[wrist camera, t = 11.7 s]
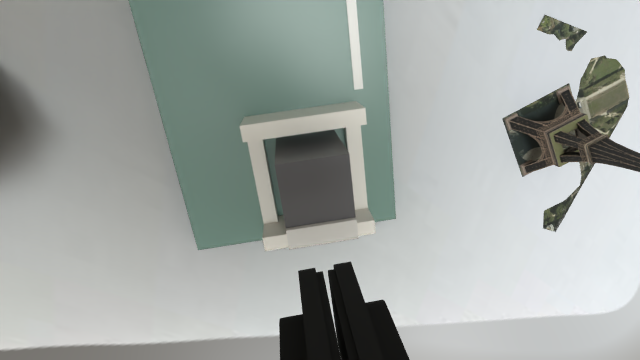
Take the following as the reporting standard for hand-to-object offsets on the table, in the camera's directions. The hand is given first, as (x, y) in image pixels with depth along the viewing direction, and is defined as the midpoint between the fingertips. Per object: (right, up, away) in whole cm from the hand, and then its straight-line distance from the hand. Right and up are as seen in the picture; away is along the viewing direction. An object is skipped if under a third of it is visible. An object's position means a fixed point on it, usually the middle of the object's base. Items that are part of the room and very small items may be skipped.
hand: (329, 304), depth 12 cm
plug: (-1, +5, +14) cm, 15 cm away
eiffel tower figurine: (+17, +8, +17) cm, 26 cm away
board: (-3, +10, +14) cm, 17 cm away
